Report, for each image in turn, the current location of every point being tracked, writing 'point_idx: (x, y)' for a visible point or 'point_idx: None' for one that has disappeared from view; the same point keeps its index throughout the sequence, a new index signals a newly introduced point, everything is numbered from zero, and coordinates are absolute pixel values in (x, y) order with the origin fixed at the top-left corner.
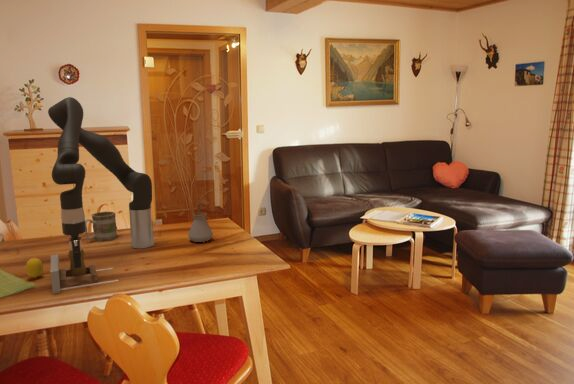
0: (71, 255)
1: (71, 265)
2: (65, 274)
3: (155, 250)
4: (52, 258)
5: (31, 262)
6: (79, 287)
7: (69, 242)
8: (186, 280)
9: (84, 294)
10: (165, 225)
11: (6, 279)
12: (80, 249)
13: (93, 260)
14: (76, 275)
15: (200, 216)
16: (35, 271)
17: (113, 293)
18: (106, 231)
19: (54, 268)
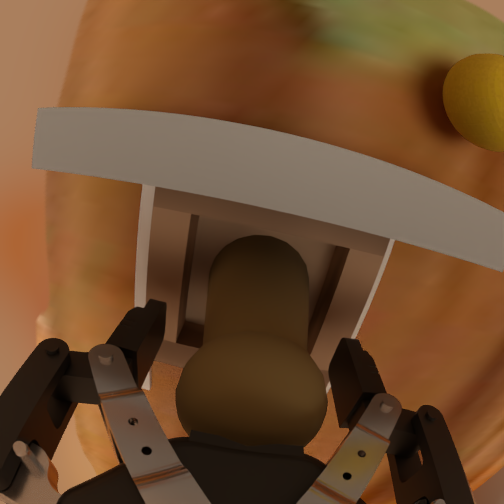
0: (198, 360)
1: (237, 295)
2: (260, 225)
3: (370, 489)
4: (447, 201)
5: (501, 71)
6: (137, 249)
7: (141, 496)
8: (89, 456)
9: (61, 245)
10: (482, 482)
11: (495, 21)
12: (113, 448)
13: (463, 373)
14: (211, 278)
15: None
16: (450, 87)
17: (42, 326)
18: None
19: (98, 142)
